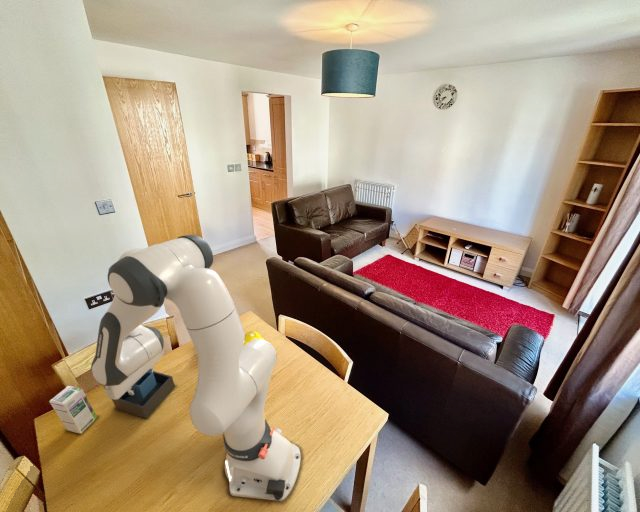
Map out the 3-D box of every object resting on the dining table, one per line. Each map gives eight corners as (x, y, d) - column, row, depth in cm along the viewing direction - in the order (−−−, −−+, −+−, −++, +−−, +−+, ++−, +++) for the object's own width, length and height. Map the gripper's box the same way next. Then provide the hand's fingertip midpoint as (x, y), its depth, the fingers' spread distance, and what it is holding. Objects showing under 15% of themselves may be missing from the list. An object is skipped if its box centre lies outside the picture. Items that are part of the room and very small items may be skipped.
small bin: (156, 384, 100) (153, 372, 97) (143, 398, 94) (139, 386, 92) (143, 380, 101) (139, 368, 98) (129, 394, 96) (124, 382, 93)
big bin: (175, 386, 104) (172, 376, 101) (146, 418, 92) (142, 408, 90) (146, 378, 107) (143, 368, 104) (115, 408, 95) (111, 397, 93)
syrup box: (81, 434, 87) (64, 404, 81) (66, 430, 88) (48, 400, 82) (97, 417, 92) (83, 388, 86) (83, 414, 93) (67, 384, 87)
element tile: (241, 372, 110) (240, 364, 108) (225, 351, 120) (223, 343, 118) (272, 354, 120) (272, 346, 118) (255, 336, 130) (254, 328, 128)
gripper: (109, 383, 81) (122, 413, 87) (162, 337, 99) (170, 365, 105) (93, 378, 82) (107, 408, 88) (148, 334, 100) (156, 361, 106)
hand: (142, 384), depth 97 cm, fingers closed on small bin, 6 cm apart
